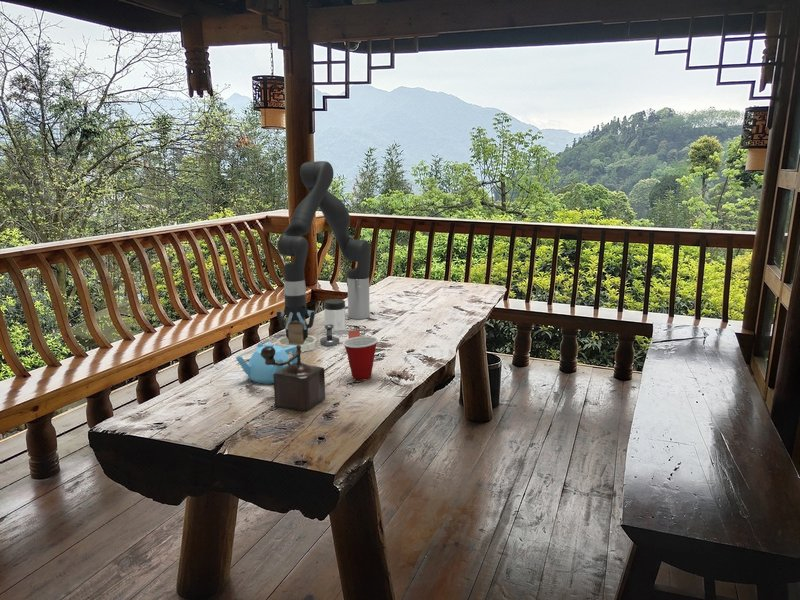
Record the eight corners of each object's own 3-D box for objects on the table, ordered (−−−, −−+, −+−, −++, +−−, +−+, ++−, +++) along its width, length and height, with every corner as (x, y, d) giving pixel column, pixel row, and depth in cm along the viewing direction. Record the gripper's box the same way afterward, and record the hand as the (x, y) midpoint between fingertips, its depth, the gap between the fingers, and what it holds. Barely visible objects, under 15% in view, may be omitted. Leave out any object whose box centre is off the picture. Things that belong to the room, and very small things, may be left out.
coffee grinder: (293, 392, 172) (290, 332, 168) (326, 398, 168) (324, 337, 164) (260, 413, 158) (256, 348, 154) (295, 419, 154) (292, 353, 150)
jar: (329, 335, 230) (328, 304, 227) (320, 330, 237) (319, 300, 234) (350, 331, 235) (349, 301, 232) (340, 326, 241) (339, 297, 239)
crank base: (317, 342, 221) (316, 324, 219) (335, 339, 224) (334, 322, 222) (323, 347, 215) (323, 329, 213) (342, 344, 218) (341, 326, 216)
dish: (272, 344, 218) (272, 337, 217) (309, 339, 224) (309, 333, 223) (283, 355, 205) (283, 348, 205) (322, 349, 212) (322, 342, 211)
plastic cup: (348, 370, 191) (347, 334, 188) (381, 372, 189) (381, 335, 186) (339, 382, 180) (338, 344, 177) (374, 384, 178) (373, 345, 176)
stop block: (292, 339, 217) (291, 320, 215) (305, 339, 217) (304, 321, 215) (288, 343, 212) (287, 324, 210) (302, 343, 212) (301, 324, 210)
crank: (333, 341, 218) (333, 331, 218) (333, 340, 220) (333, 330, 219) (359, 340, 220) (359, 330, 219) (359, 339, 221) (359, 329, 220)
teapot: (282, 388, 175) (280, 353, 173) (236, 384, 179) (233, 349, 177) (303, 371, 190) (302, 339, 187) (260, 367, 194) (258, 335, 191)
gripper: (317, 290, 214) (318, 336, 217) (277, 290, 214) (280, 335, 218) (313, 295, 206) (315, 342, 210) (272, 294, 207) (274, 341, 211)
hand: (297, 338), depth 214 cm, fingers closed on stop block, 5 cm apart
